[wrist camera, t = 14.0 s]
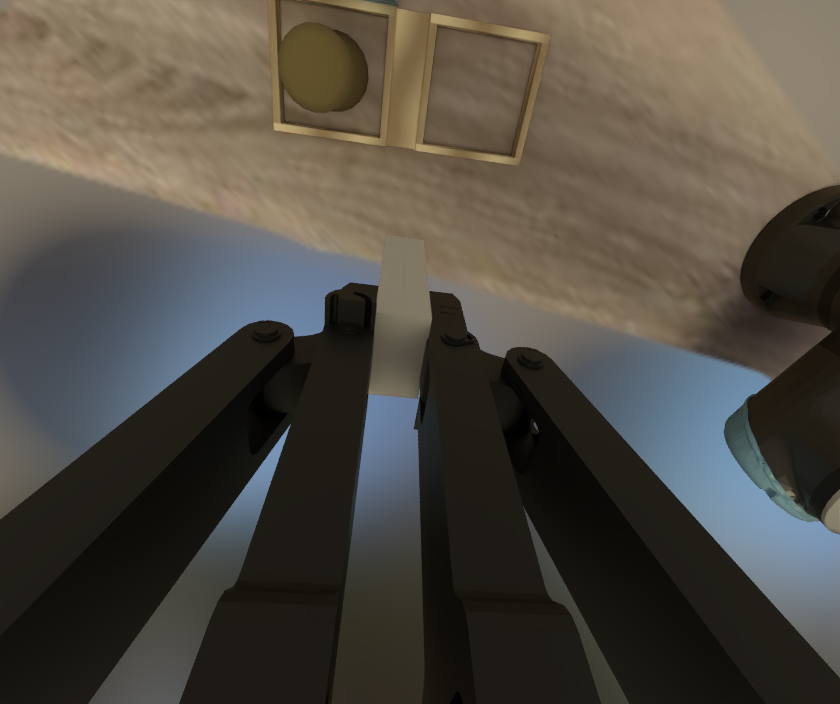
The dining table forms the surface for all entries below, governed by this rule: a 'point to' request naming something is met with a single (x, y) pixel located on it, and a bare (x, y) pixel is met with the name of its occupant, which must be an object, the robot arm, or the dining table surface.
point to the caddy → (409, 77)
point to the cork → (322, 68)
